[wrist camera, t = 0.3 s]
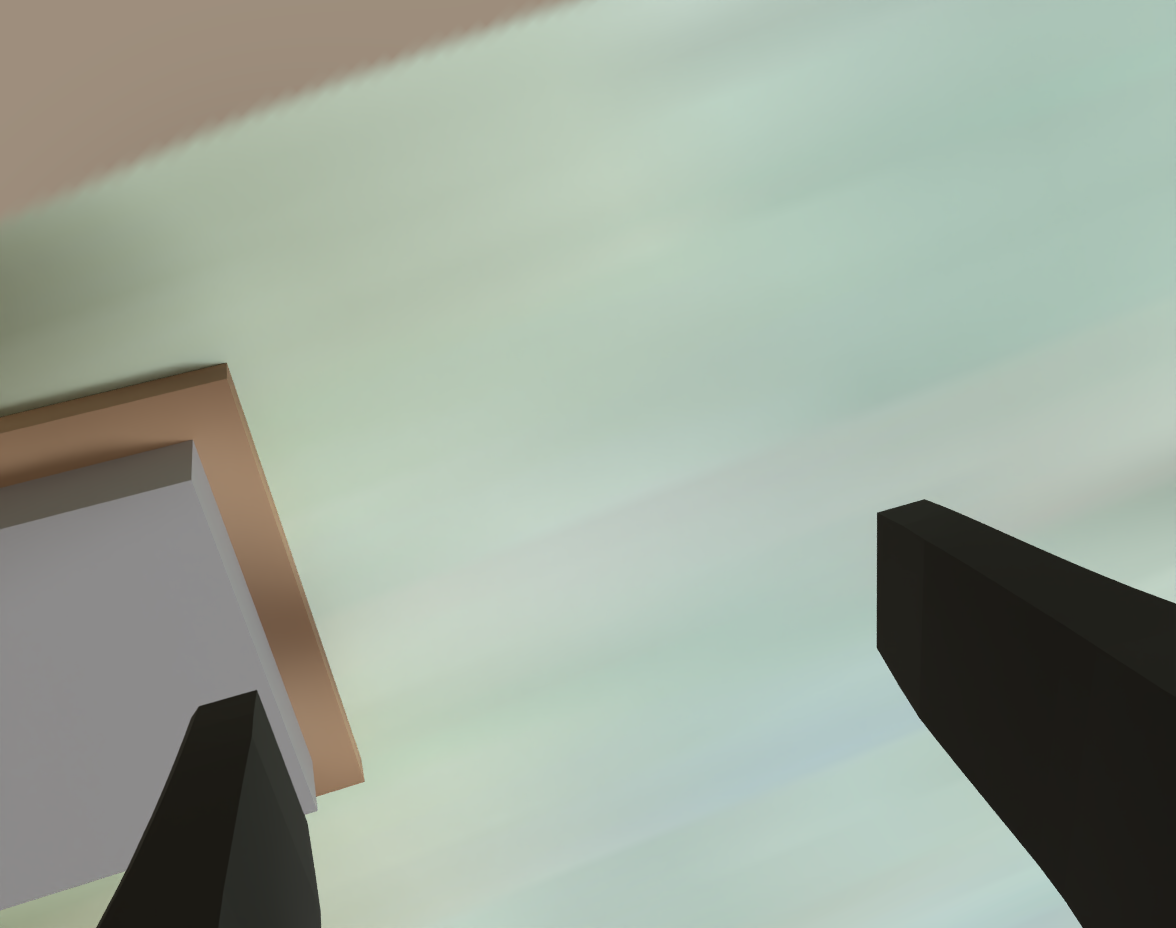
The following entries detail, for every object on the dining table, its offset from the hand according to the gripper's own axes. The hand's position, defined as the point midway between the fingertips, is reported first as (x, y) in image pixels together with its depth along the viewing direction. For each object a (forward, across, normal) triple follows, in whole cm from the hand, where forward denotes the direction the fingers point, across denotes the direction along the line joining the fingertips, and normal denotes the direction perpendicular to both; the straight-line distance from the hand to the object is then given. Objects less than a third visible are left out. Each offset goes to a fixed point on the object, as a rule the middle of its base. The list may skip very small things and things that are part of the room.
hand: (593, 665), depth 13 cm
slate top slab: (+9, +9, +4) cm, 14 cm away
